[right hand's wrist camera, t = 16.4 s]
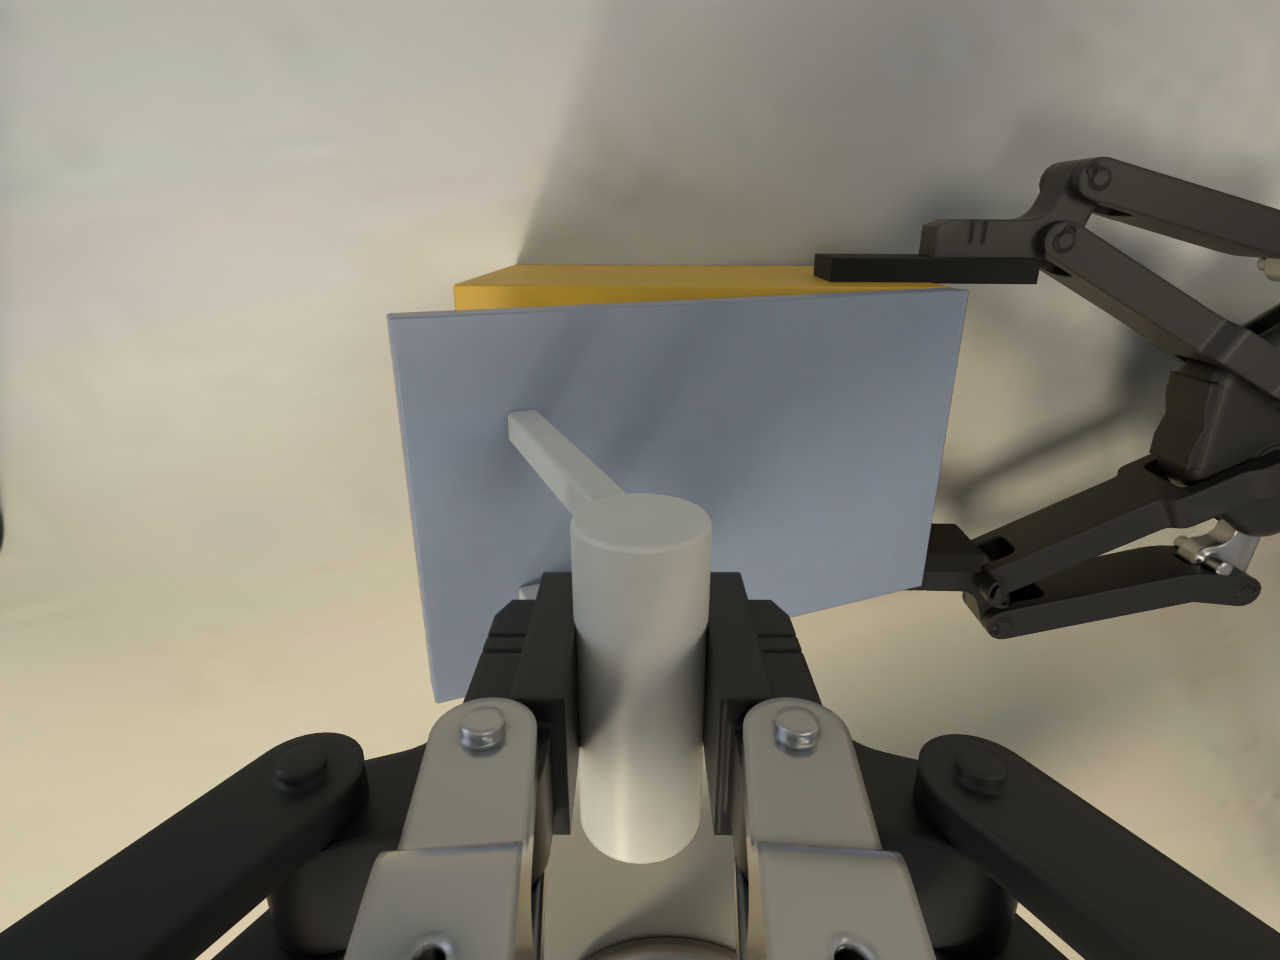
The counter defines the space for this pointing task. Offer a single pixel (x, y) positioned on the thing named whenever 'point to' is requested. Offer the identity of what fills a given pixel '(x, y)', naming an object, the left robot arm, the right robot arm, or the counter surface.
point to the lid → (666, 495)
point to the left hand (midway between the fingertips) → (809, 416)
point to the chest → (647, 284)
